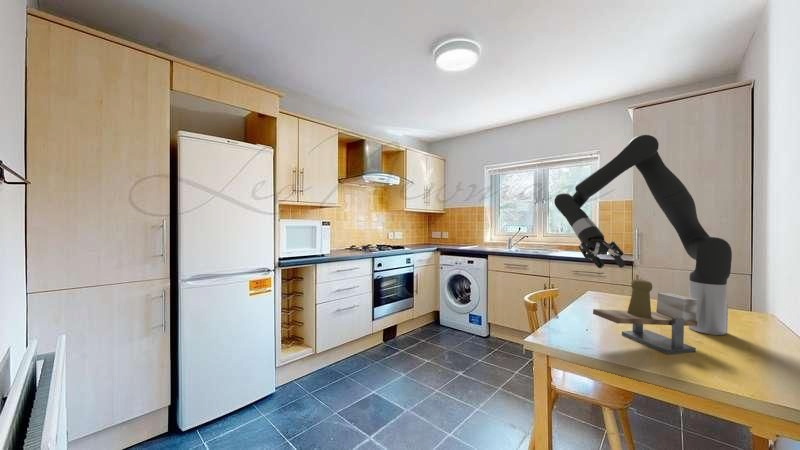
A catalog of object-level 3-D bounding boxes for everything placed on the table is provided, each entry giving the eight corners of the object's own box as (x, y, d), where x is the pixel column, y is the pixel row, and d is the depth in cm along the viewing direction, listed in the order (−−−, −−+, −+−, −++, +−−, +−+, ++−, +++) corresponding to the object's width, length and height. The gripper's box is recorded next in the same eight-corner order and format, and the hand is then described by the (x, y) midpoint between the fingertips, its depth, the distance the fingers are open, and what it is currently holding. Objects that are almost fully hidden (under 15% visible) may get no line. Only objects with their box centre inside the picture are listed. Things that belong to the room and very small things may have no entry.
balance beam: (663, 315, 103) (666, 292, 103) (700, 327, 92) (703, 301, 92) (590, 313, 99) (592, 288, 99) (620, 324, 88) (622, 297, 88)
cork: (656, 318, 92) (659, 282, 92) (633, 316, 93) (636, 280, 93) (644, 313, 98) (647, 279, 98) (623, 310, 99) (626, 277, 99)
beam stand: (646, 333, 105) (647, 304, 105) (695, 351, 90) (696, 318, 90) (621, 334, 103) (622, 305, 103) (667, 354, 88) (668, 320, 88)
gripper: (576, 225, 113) (601, 260, 102) (609, 225, 115) (637, 259, 104) (565, 238, 118) (588, 273, 107) (598, 238, 120) (623, 272, 109)
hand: (612, 266), depth 105 cm, fingers open, 8 cm apart
